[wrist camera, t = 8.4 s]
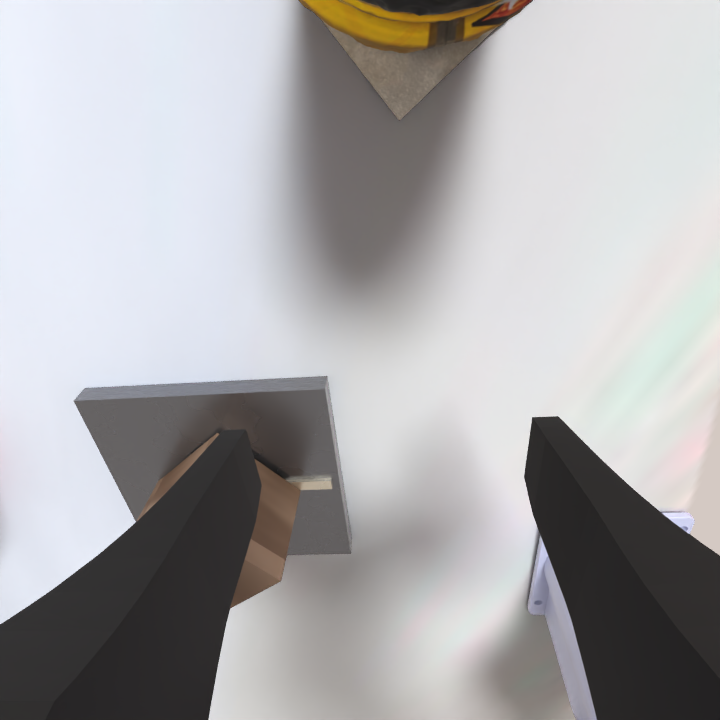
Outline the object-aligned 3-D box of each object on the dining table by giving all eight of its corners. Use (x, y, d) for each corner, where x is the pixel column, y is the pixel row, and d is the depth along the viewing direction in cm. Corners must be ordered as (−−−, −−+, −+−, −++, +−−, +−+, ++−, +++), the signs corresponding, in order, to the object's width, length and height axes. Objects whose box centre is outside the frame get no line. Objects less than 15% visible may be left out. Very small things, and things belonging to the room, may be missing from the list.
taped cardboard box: (238, 531, 28) (205, 632, 23) (157, 481, 26) (104, 581, 21) (300, 490, 25) (278, 594, 21) (217, 432, 23) (171, 533, 19)
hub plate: (351, 539, 29) (347, 603, 26) (160, 543, 30) (133, 605, 27) (327, 376, 23) (317, 433, 19) (84, 388, 24) (35, 444, 20)
